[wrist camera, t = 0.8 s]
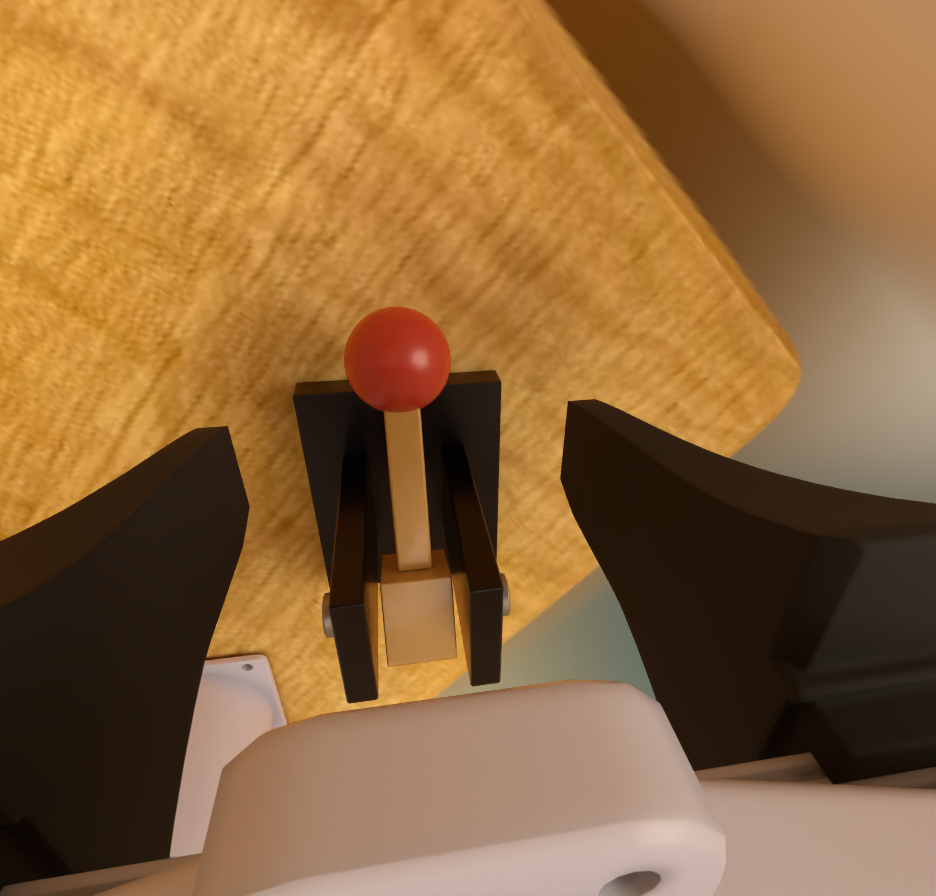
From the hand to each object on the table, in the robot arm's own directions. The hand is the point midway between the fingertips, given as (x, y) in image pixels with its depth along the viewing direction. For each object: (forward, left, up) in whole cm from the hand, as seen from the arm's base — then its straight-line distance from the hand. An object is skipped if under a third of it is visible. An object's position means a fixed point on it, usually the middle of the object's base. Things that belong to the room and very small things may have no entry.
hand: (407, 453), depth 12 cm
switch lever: (0, -4, -6) cm, 7 cm away
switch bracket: (0, -8, -10) cm, 13 cm away
